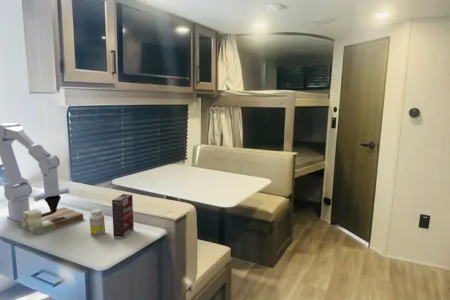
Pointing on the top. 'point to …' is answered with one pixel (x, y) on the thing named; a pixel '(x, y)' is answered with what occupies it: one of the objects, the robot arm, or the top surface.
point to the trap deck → (54, 220)
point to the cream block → (32, 217)
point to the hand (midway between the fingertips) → (53, 212)
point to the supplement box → (122, 216)
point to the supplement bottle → (97, 222)
